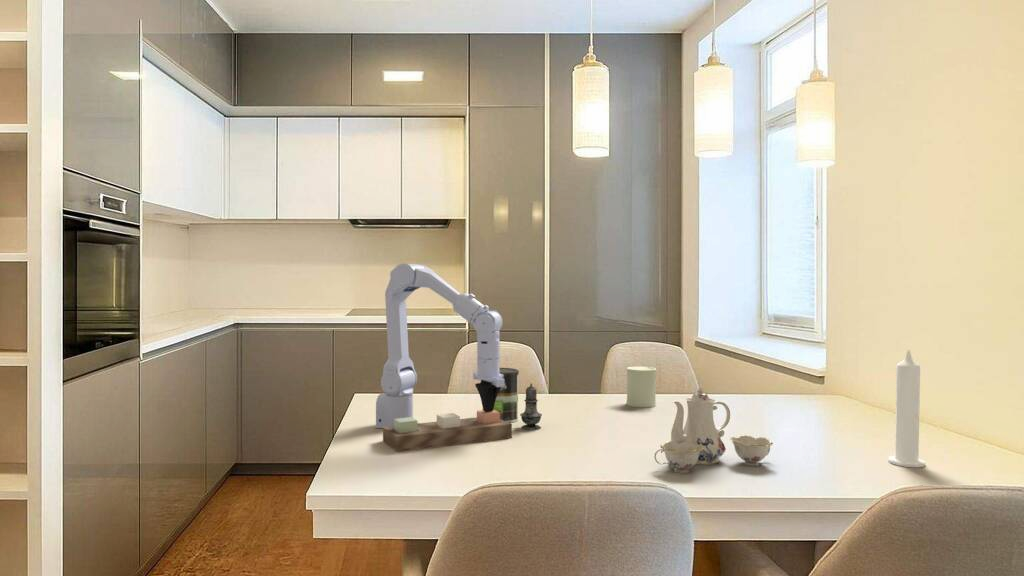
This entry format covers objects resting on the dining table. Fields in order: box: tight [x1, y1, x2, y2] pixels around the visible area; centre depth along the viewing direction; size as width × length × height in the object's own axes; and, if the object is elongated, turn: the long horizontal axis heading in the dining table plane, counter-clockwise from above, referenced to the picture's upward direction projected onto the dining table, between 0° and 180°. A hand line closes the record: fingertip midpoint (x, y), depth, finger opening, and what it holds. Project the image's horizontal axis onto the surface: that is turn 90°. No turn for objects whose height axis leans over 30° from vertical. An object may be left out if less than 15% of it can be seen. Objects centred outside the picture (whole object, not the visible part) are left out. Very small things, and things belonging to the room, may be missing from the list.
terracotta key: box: [476, 409, 500, 424], centre depth 178 cm, size 4×4×3 cm
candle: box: [887, 349, 926, 469], centre depth 152 cm, size 7×7×25 cm
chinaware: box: [654, 387, 773, 474], centre depth 152 cm, size 28×17×17 cm, turn 113°
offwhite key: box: [436, 412, 461, 429], centre depth 173 cm, size 4×4×3 cm
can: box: [625, 365, 657, 409], centre depth 218 cm, size 9×9×12 cm
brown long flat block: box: [382, 416, 513, 453], centre depth 173 cm, size 30×11×4 cm, turn 117°
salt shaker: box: [519, 383, 543, 431], centre depth 186 cm, size 6×6×12 cm
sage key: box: [394, 417, 418, 433], centre depth 167 cm, size 4×4×3 cm
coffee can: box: [493, 367, 520, 424], centre depth 196 cm, size 10×10×14 cm
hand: (488, 411), depth 178 cm, fingers closed
